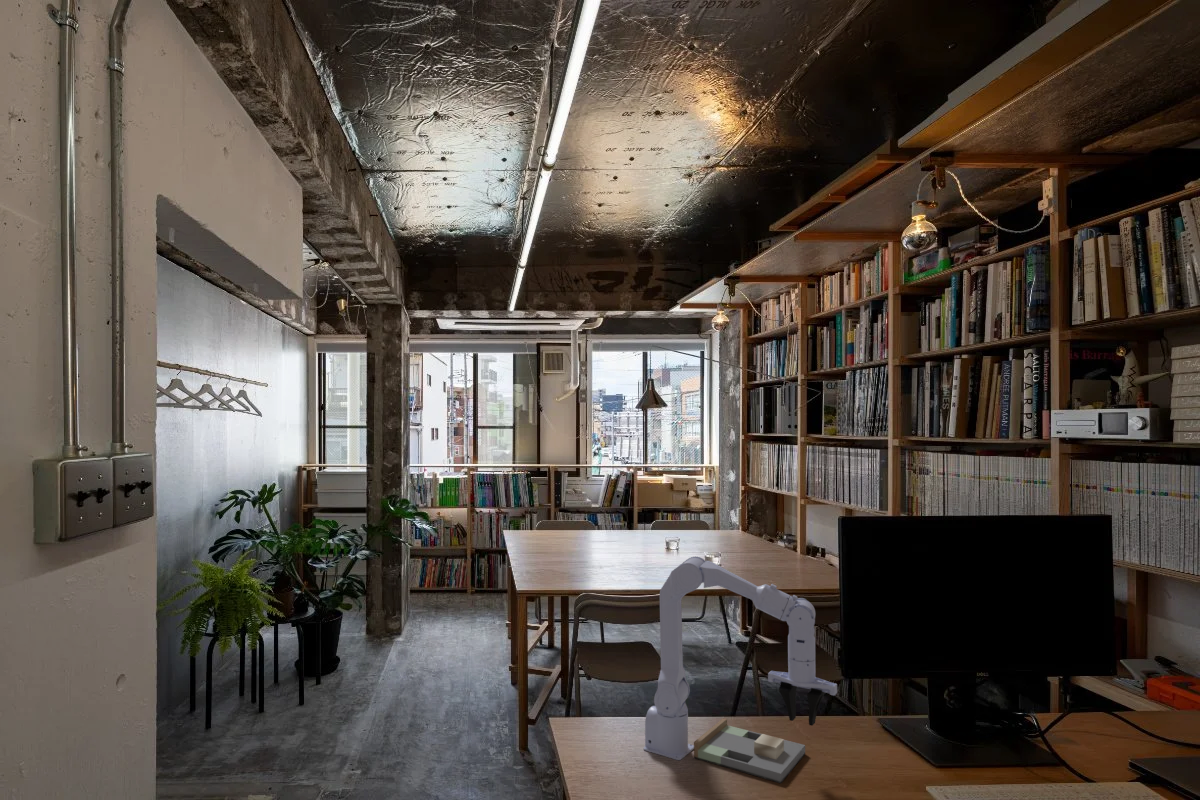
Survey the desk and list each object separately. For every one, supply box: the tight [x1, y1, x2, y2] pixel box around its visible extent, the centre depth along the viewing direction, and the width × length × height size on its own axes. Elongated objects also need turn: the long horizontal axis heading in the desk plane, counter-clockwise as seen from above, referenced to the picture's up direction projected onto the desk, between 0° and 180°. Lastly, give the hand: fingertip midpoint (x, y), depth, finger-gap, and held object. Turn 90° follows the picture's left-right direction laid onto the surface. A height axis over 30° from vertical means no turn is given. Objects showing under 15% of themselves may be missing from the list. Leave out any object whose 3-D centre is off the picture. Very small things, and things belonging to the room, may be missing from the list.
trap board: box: [693, 717, 806, 784], centre depth 158 cm, size 20×16×4 cm
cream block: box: [754, 733, 785, 759], centre depth 155 cm, size 5×5×2 cm
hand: (802, 721), depth 151 cm, fingers open, 4 cm apart
